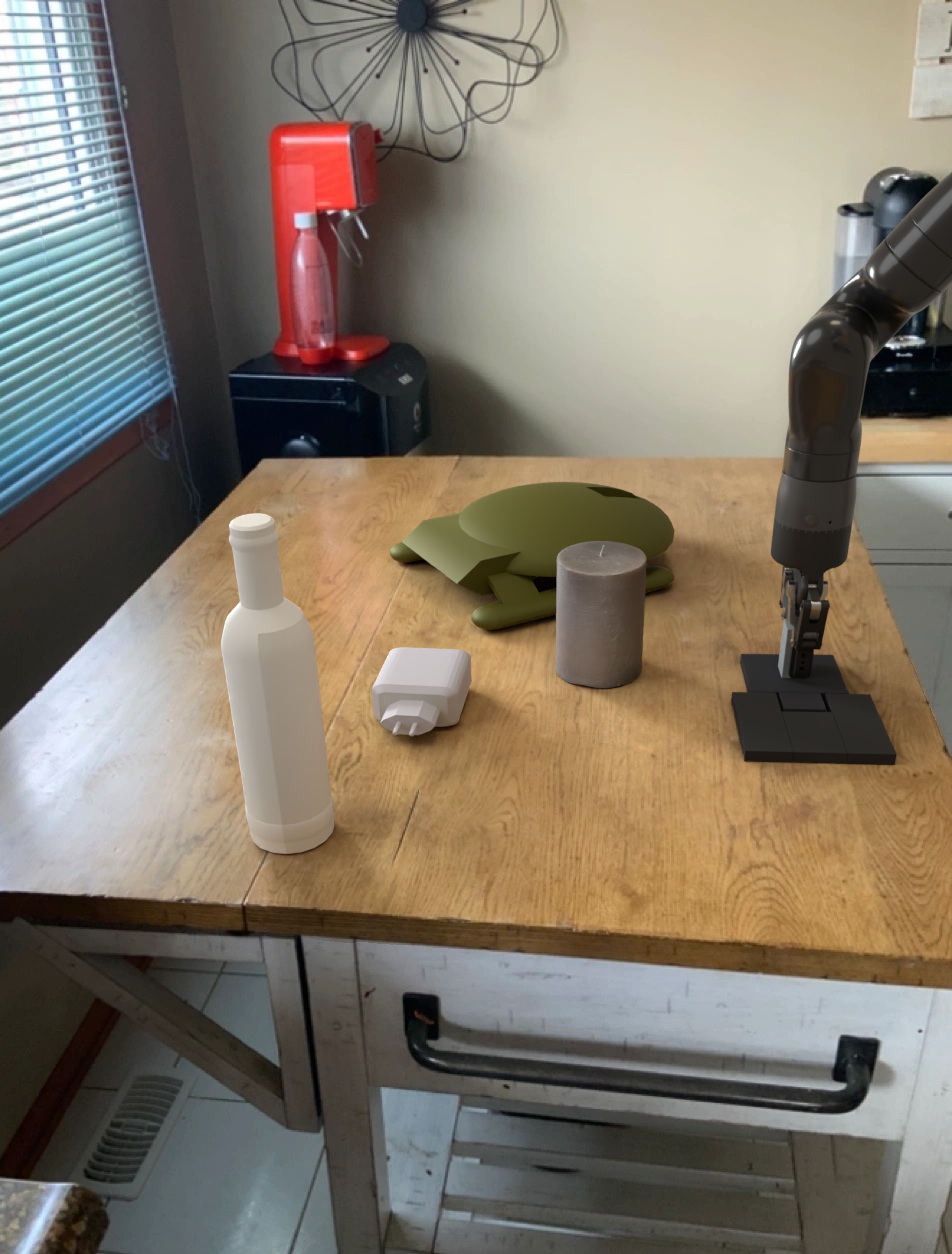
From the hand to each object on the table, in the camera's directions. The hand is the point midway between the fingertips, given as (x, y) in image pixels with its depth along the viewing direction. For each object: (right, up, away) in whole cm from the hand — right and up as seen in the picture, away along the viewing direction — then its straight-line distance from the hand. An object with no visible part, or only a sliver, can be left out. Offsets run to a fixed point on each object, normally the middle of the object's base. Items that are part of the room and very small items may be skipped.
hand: (794, 664), depth 122 cm
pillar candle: (-20, 0, +6) cm, 21 cm away
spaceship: (-23, +15, +33) cm, 43 cm away
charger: (-41, -6, -1) cm, 41 cm away
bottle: (-52, -16, -18) cm, 58 cm away
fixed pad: (-1, -7, -8) cm, 11 cm away
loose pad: (0, -3, -1) cm, 3 cm away
